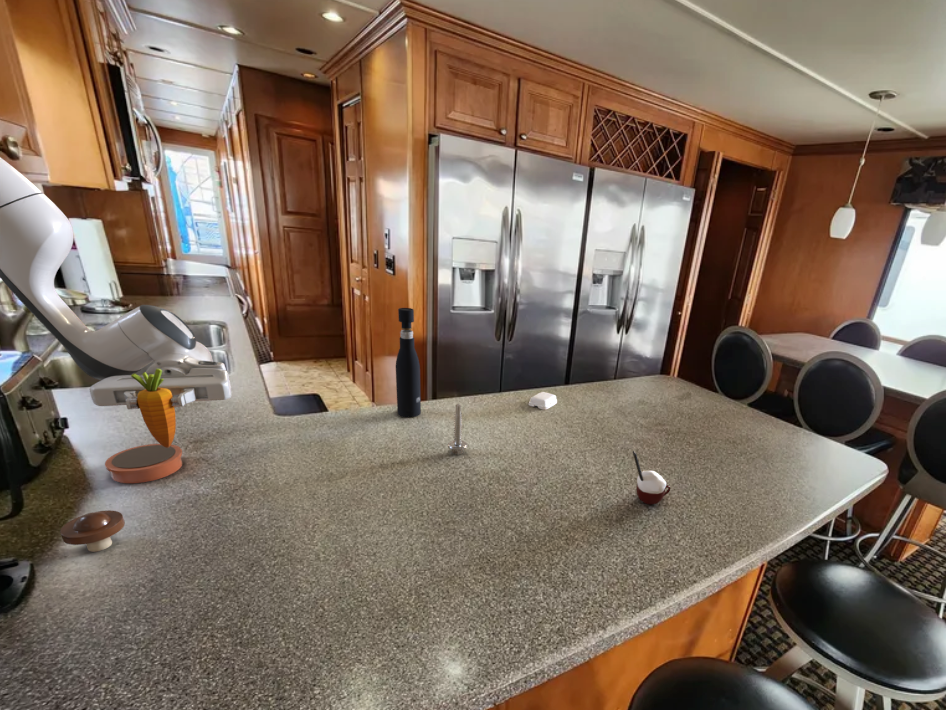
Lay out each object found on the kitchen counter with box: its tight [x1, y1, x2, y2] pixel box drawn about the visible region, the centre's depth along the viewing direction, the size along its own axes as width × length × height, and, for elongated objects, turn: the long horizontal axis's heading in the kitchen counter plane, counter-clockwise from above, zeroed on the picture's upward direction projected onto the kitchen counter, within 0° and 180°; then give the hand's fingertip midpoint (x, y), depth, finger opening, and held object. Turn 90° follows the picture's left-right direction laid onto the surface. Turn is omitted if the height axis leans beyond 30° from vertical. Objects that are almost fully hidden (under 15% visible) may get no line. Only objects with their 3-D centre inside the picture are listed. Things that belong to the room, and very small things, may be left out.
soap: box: [528, 391, 558, 410], centre depth 149 cm, size 9×7×3 cm
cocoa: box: [632, 450, 671, 505], centre depth 99 cm, size 10×6×12 cm, turn 77°
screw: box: [447, 403, 469, 456], centre depth 111 cm, size 13×5×5 cm
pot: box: [104, 443, 183, 484], centre depth 93 cm, size 12×12×3 cm
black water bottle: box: [395, 307, 422, 419], centre depth 127 cm, size 6×6×30 cm
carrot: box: [131, 369, 177, 448], centre depth 81 cm, size 5×5×15 cm
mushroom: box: [59, 510, 126, 553], centre depth 72 cm, size 7×7×6 cm
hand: (154, 404), depth 80 cm, fingers closed on carrot, 5 cm apart
